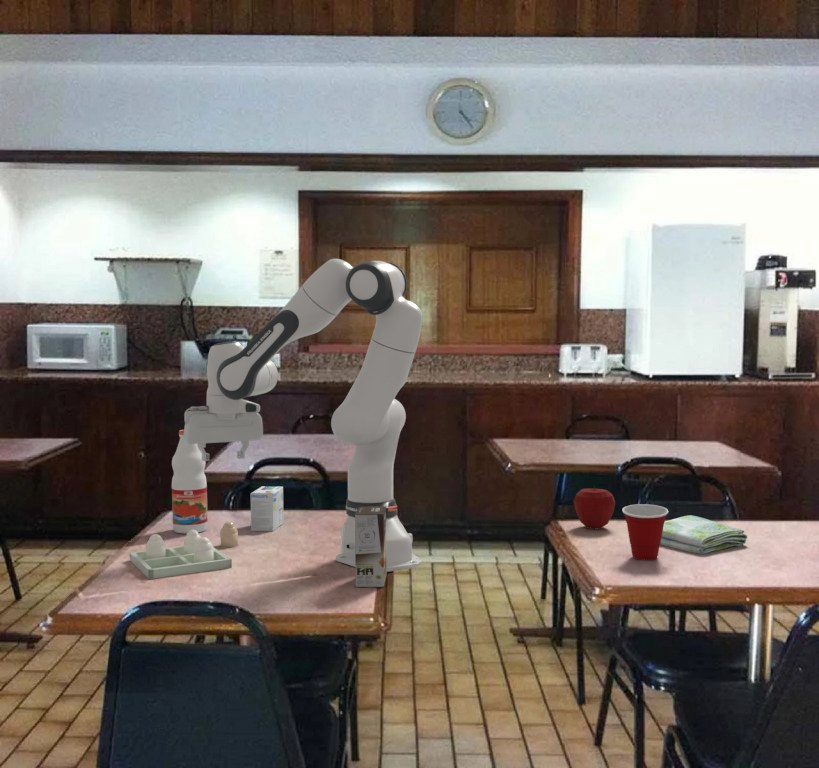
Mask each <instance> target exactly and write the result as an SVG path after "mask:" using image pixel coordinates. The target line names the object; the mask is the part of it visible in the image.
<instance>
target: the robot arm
mask: <svg viewBox="0 0 819 768" xmlns="http://www.w3.org/2000/svg"><path fill="white" fill-rule="evenodd" d="M407 279H408V278H407V276H406V274H405V272H404V271H403V269H402V268H400V266H398V265H396V264H395V263H392V262H387V261H382V260H369V261H362V262H360V263H358V264H356V265H354V266H352V264H350V263H349V262H347V261H345V260H343V259H340V258H330V259H329V260H327V261H326V262H325V263H324V264H322V265H321V266H320V267H318V268H317V269H316V270H315V271H314V272H313V273H312V274H311V275H310V276H309V277H308V278H307V279H306V280H305V281H304V283H303V284H302V285H301V286H300V287H299V289H298V290H297V291H296V292H295V294H294V295H293V296H292V297H291V298H290V299H289V301H288V302H287V303H286V304H285V305H284V306H283V308H282V309H280V310H279V312H278V313H277V314H276V315H275V316H274V317H273V318H272V319H271V320H270V321H269V322H268V323H267V324H266V325H265V326H264V327H263V328H262V329H261V330H260V331H259V332H258V333H257V335H255V336H254V338H253V339H251V341H250V342H249V343H248V344H247V345H246V346H245V347H244V346H243V345H242V344H241V343H240V342H239V341H228V342H227V341H225V342H217V343H214V344H213V345H212V346H210V348H209V352H208V355H207V363H206V366H207V367H206V379H207V383H208V387H207V390H206V405H201V406H194V405H193V406H190V407H189V408H187V409H186V410H185V411H184V414H183V416H184V417H183V418H184V420H183V421H184V429H183V430H184V440H185V441H186V442H187V443H189V444H197V447H198V448H199V450H200V452H201V453H202V461H206V462H209V461H210V453H208V452H207V451H206V450H205V448H207V446H206V445H207V444H214V443H215V444H216V443H234V442H240V445H242V446H240V447H241V448H240V450H237V451H236V458H237V459H239V460H240V459H241V460H242V459H245V457H246V456H245V453H246V451H247V449H248V448H249V446H250V441H251V442H254V441H260V440H261V439H262V438H263V435H264V424H263V417H262V416H261V414H260V413H259V412H260V411H261V405H260V404H259V403H256V402H253V401H249V400H248V399H246V398H249V397H253V396H254V397H255V396H259V395H262V394H263V395H264V394H266V393H268V392H271V391H272V390H274V388H276V386H277V383H278V380H279V370H278V367H277V365H276V363H275V362H274V361H273V360H272V359H273V358H274V357H275V355H277V354H278V352H279V351H281V350H282V349H283V348H285V346H286V345H288V344H289V343H292V342H294V341H297V340H298V339H302V338H304V337H307V336H312V335H314V334H317V333H319V332H320V331H322V330H323V329H325V328H326V327H327V326H328V325H330V323H332V321H334V319H335V318H336V317H338V315H339V314H340V313H341V311H342V310H343V309H344V308H345V307H346V306H347V304H349V303H350V302H351V301H353V302H354V303H355V304H357V306H358V307H361V308H362V309H363V310H364V311H366V312H367V313H368V314H369V315H371V316H375V326H374V329H373V332H372V335H371V339H370V342H369V344H368V348H367V351H366V354H365V357H364V360H363V363H362V365H361V368H360V370H359V373H358V375H357V376H356V379H355V381H354V382H353V384H352V386H351V388H350V389H349V392H348V393H347V395H346V396H345V399H344V400H343V402H342V403H341V404H340V405H338V407H337V408H335V411H334V412H333V414H332V416H331V422H330V426H331V430H332V433H333V435H334V436H335V438H336V439H337V440H338V441H339V442H341V443H342V444H346V445H351V446H355V448H354V452H353V456H352V458H351V460H350V462H349V464H348V466H347V499H346V501H345V503H346V504H345V509H346V511H345V513H346V515H347V516H346V519H345V521H344V523H343V524H342V525H341V533H340V534H341V535H340V536H341V537H340V548H339V549H340V551H339V553H338V554H337V555H335V561H336V562H339V563H342V564H345V565H349V566H350V567H354V568H356V564H355V513H356V511H357V509H358V508H359V507H368V506H385V507H386V573H389V572H397V571H402V570H403V571H404V570H408V569H414V568H417V567H421V566H422V565H423V560H422V559H421V558H420V557H418V556H417V555H416V554H415V553H413V546H412V545H413V544H412V543H413V541H414V538H413V533H411V532H409V533H408V532H407V530H406V528H405V527H404V525H403V524H402V522H401V520H400V519H399V516H398V505H397V503H396V499H395V498H394V467H395V466H394V464H395V459H396V453H397V448H398V443H399V439H400V434H401V431H402V430H403V427H404V426H405V423H406V419H407V414H406V411H405V410H406V409H405V407H404V406H403V404H402V403H401V402H400V401H399V400H398V399H396V396H397V395H398V393H399V391H400V390H401V389H402V387H404V385H405V384H406V382H407V379H408V376H409V373H410V371H411V367H412V365H413V361H414V357H415V355H416V352H417V348H418V345H419V342H420V337H421V332H422V325H423V312H422V309H421V308H420V307H419V306H418V305H417V304H416V303H414V302H413V301H411V300H409V299H406V298H405V297H404V296H405V295H406V292H407V289H408V280H407Z"/></svg>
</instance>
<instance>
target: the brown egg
mask: <svg viewBox="0 0 819 768" xmlns="http://www.w3.org/2000/svg"><path fill="white" fill-rule="evenodd" d="M219 534H220V535H219V536H220V547H221V548H235V547H238V546H239V531H238V528H237V526H235V523H234V522H232V521H226V522H225V523H224V524H223V525H222V528H221V529H220V533H219Z"/></svg>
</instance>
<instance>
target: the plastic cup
mask: <svg viewBox="0 0 819 768" xmlns="http://www.w3.org/2000/svg"><path fill="white" fill-rule="evenodd" d="M622 513H623V516H624V518H625V522H626V527H627V532H628V533H627V534H628V539H629V544H630V548H631V550H630V551H631V555H632V558H633V559H635V560H639V561H654V560H657V559H658V556H659V551H660V550H659V549H660V545H661V544H660V543H661V537H662V532H663V526H664V522H665V521H666V518H667V515H668V514H669V510H668V508H667V507H664V506H660V505H656V504H647V503H645V504H643V503H641V504H640V503H639V504H638V503H637V504H630V505H627V506H624V507H622Z"/></svg>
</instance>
